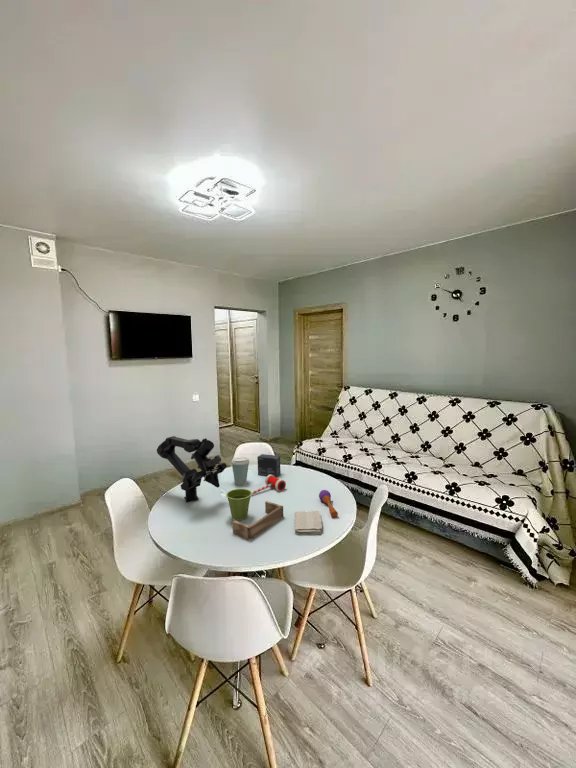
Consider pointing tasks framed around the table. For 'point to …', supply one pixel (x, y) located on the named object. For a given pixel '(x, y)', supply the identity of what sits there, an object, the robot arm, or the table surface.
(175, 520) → the table surface
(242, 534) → the wooden frame
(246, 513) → the plant pot
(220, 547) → the table surface
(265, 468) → the small box
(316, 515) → the washcloth
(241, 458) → the disposable coffee cup
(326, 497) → the kendama
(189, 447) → the robot arm
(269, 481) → the toy hammer
